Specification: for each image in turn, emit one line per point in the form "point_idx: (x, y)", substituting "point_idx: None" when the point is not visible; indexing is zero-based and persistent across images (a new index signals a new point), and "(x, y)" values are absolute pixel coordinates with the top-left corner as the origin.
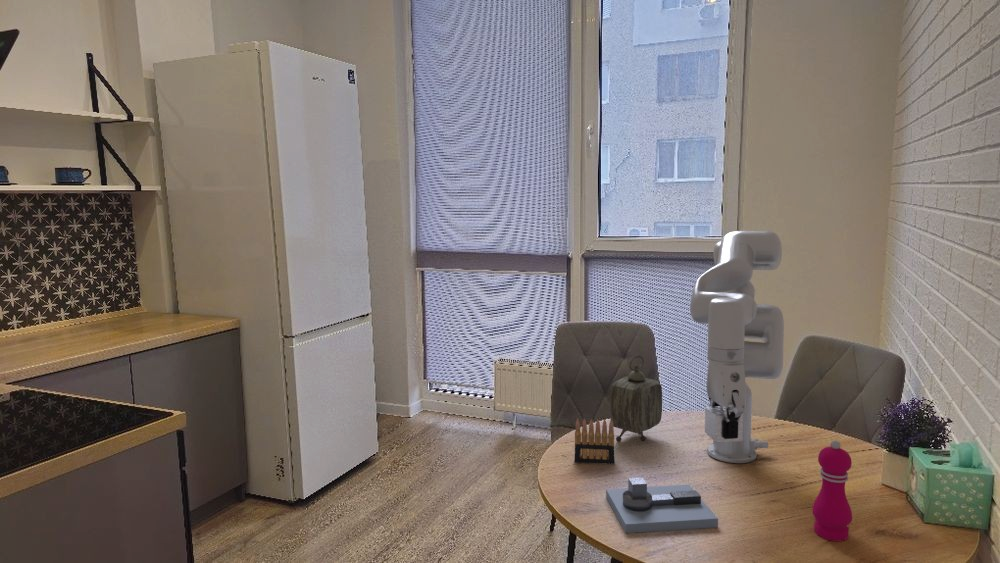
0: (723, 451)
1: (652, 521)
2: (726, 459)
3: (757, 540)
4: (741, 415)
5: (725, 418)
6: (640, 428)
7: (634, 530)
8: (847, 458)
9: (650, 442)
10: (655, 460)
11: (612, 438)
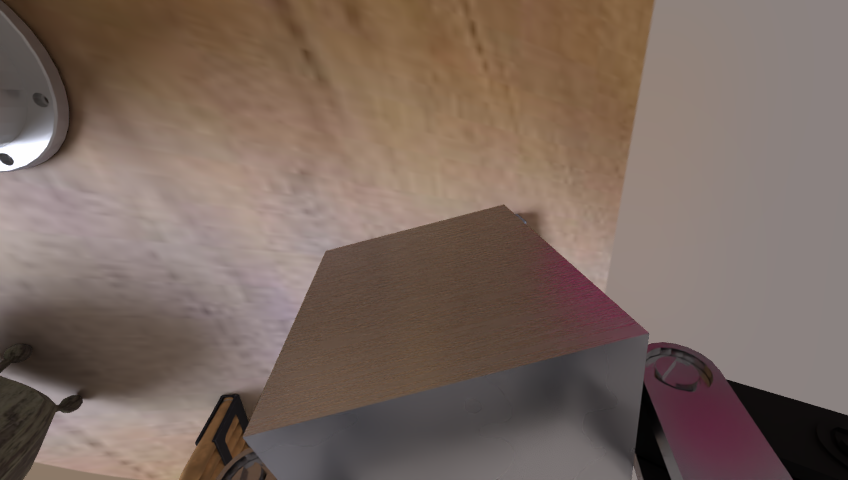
0: (7, 121)
1: None
2: (60, 114)
3: (576, 134)
4: (635, 344)
5: (641, 459)
6: (34, 406)
7: None
8: None
9: (26, 329)
10: (169, 318)
11: (202, 465)
